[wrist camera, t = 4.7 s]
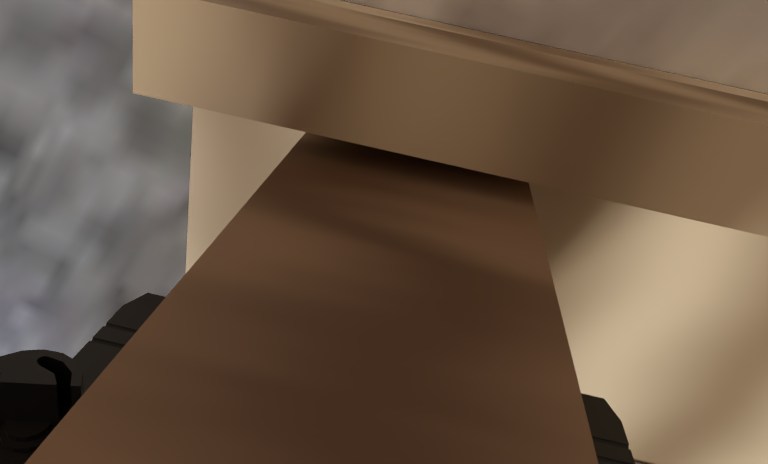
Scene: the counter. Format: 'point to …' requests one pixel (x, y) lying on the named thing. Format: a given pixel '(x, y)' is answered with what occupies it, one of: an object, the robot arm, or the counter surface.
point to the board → (606, 286)
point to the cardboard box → (349, 331)
